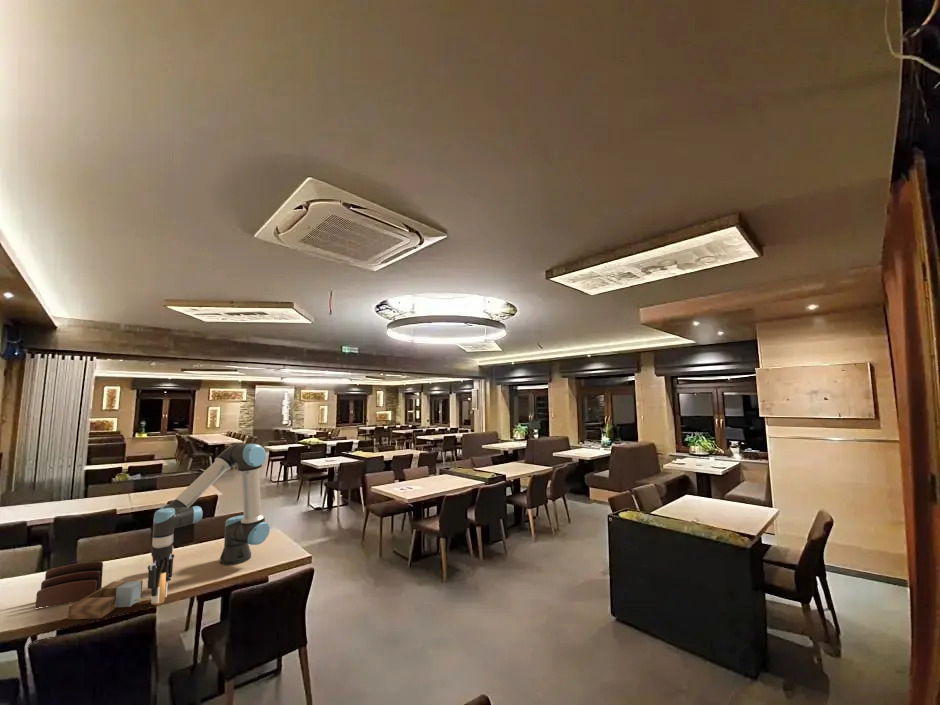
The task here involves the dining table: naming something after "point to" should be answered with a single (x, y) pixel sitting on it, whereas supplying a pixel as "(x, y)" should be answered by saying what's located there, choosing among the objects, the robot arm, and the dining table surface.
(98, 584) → the letter holder
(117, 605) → the tethered block
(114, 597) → the cubby lane
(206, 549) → the dining table surface
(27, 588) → the dining table surface
